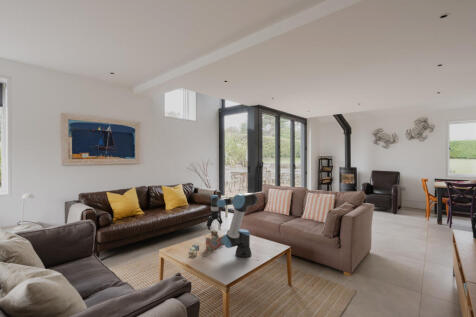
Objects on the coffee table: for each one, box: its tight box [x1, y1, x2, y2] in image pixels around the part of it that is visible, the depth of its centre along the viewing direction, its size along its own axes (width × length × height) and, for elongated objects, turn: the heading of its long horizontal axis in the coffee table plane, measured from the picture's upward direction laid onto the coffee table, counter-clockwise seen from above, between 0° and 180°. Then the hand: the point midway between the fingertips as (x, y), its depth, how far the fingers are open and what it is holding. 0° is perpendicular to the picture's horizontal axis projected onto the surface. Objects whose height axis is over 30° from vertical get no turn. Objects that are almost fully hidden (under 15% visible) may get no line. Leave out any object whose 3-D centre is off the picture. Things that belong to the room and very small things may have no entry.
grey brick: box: [191, 243, 200, 251], centre depth 230 cm, size 6×4×4 cm, turn 57°
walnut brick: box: [210, 229, 219, 236], centre depth 236 cm, size 6×4×4 cm, turn 42°
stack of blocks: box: [205, 233, 225, 251], centre depth 237 cm, size 21×6×12 cm, turn 144°
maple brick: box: [189, 250, 198, 258], centre depth 216 cm, size 6×4×4 cm, turn 68°
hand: (214, 231), depth 236 cm, fingers open, 12 cm apart
